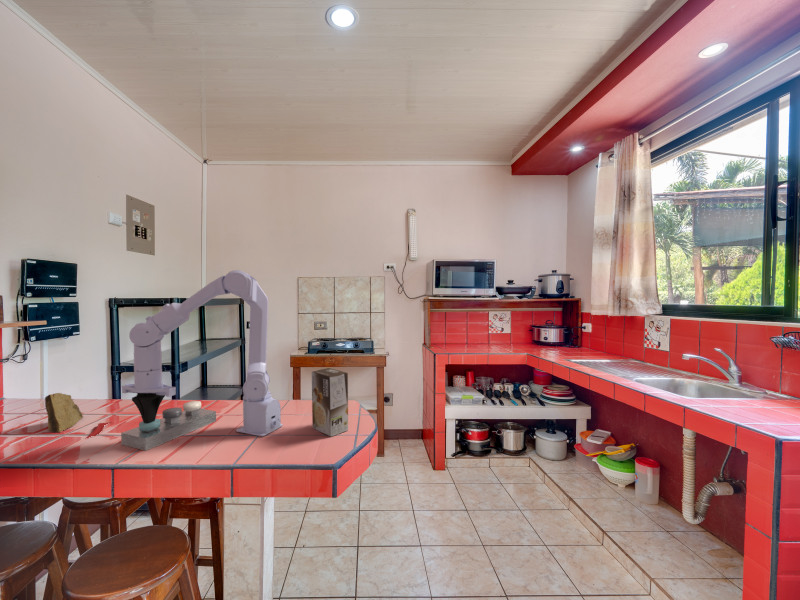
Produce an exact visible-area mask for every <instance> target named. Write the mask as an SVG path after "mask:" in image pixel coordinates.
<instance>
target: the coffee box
mask: <svg viewBox="0 0 800 600" xmlns="http://www.w3.org/2000/svg"><path fill="white" fill-rule="evenodd" d="M348 375H349V373H348V372H345V371H343V370H338V369H334V368H330V367H328V368H327V367H326V368H321V369H318V370H315V371H311V409H312V410H311V413H312V414H311V416H312V420H311V422H312V423H311V424H312V429H314V430H315V431H318V432H320V433H323V434H325V435H326V436H328V437H334V436H336V435H339V434H342V433H344V432H347V431H349V377H348Z"/></svg>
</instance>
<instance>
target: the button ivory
mask: <svg viewBox="0 0 800 600" xmlns="http://www.w3.org/2000/svg"><path fill="white" fill-rule="evenodd" d="M182 407H183V409H182V410H183V411H186V415H187V416H194V415H196V414H199V409H202V401H199V400H193V401H187V402H185V403H183V406H182Z"/></svg>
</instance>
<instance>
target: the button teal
mask: <svg viewBox="0 0 800 600" xmlns="http://www.w3.org/2000/svg"><path fill="white" fill-rule="evenodd" d="M160 419H161V418H160ZM160 419H159V418H156V419H155V421H153V422H151V423H148V424H147V423H144V422H143V420H142V421H139V423H138V427H139V430H140V431H143V432H147V433H148V432H151V431H153V430H156V429H158V428H159V427H160Z"/></svg>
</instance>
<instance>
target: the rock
mask: <svg viewBox="0 0 800 600" xmlns="http://www.w3.org/2000/svg"><path fill="white" fill-rule="evenodd" d="M44 404H45V405H44V408H45V410H46V414H47V428H48V431H49V432H53V433H59V432H60V433H62V432H61V431H63V430H64V431H65V429H66V430H68V429H70V428H72V427H73V425H74V426H75V425H76V424H77V423H78V422H79V421H80V420H82V419H83V418H84V415H83V413H82V411H81V410H80V408H79V406H78V404H76V403H75V402H74V400H73V398H72V396H71V395H69V394H66V393H62V392H57V393H56V392H55V393H52V394H48V395H46V396H45V397H44ZM69 427H70V428H69ZM67 428H68V429H67ZM64 431H63V432H64Z"/></svg>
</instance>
